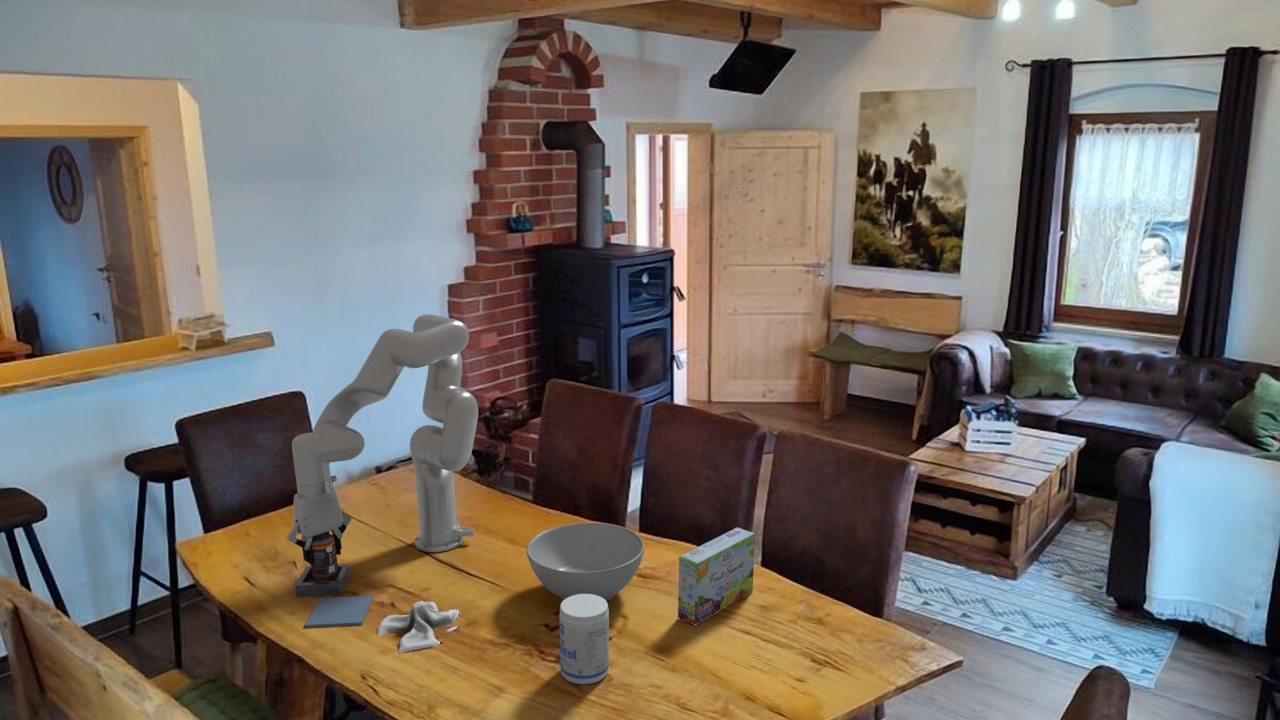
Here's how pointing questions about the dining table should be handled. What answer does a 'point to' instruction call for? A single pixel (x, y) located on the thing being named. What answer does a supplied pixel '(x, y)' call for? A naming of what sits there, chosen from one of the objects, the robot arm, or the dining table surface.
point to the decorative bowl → (585, 558)
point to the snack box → (715, 575)
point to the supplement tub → (584, 638)
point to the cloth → (418, 625)
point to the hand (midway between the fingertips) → (323, 557)
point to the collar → (322, 583)
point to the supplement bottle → (324, 555)
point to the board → (340, 611)
